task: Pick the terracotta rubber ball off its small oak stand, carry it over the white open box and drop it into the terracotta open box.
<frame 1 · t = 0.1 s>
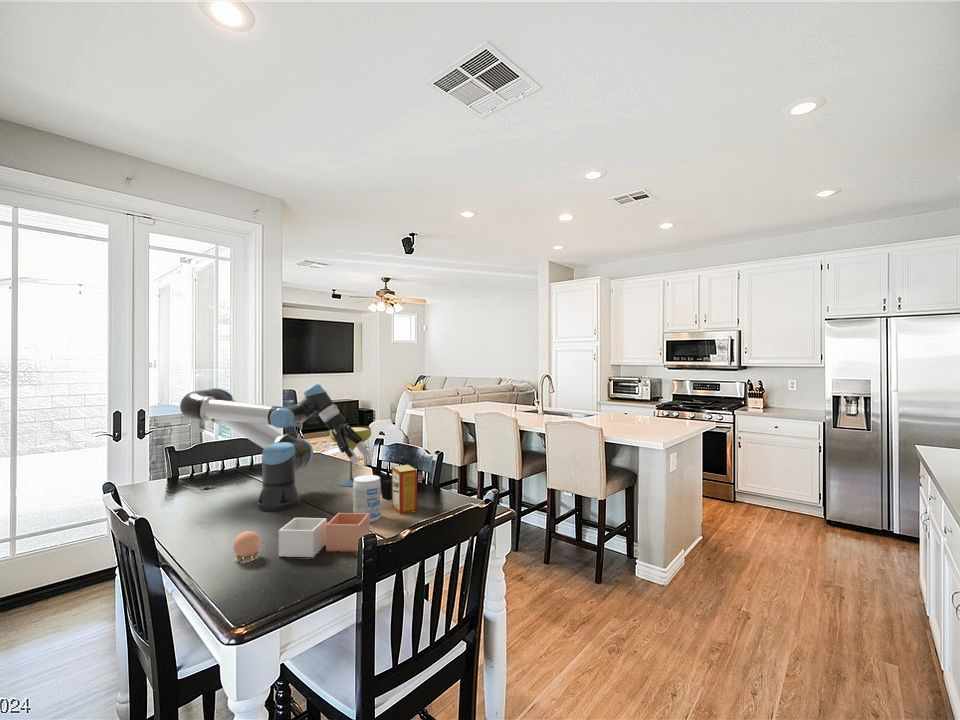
hand: (362, 459, 191), 15 cm above the table, tool tilted 35°, fingers open, 13 cm apart
ball stand: (247, 558, 133), on the table
white open box: (303, 550, 138), on the table
ball: (247, 544, 133), point 4 cm above the table, touching ball stand
supplement tub: (367, 519, 164), on the table
baking soda box: (404, 509, 175), on the table
cocktail glass: (351, 483, 209), on the table
terracotta open box: (348, 544, 142), on the table
digital camera: (395, 497, 190), on the table
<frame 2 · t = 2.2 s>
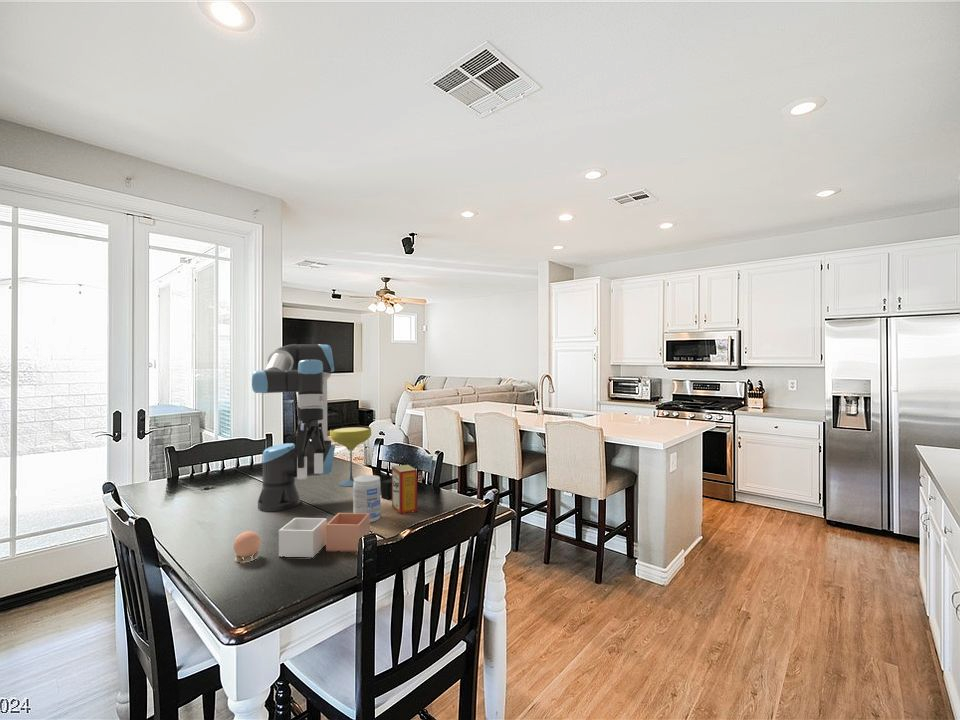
hand: (310, 476, 144), 21 cm above the table, tool pointing down, fingers open, 13 cm apart
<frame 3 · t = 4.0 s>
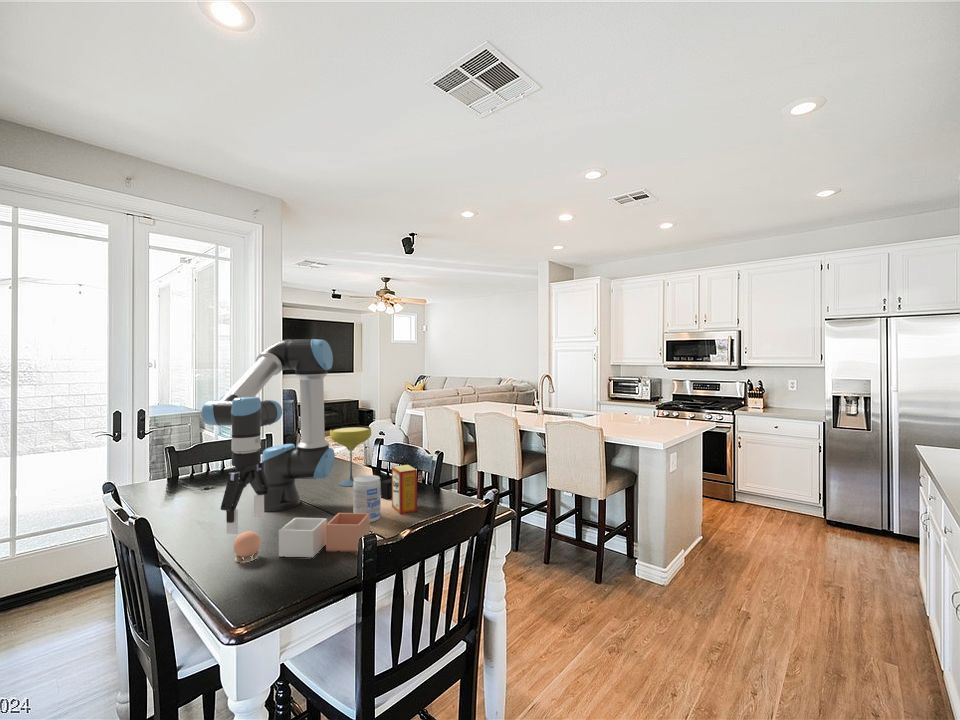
hand: (246, 524, 132), 10 cm above the table, tool pointing down, fingers open, 13 cm apart
nothing on the table moved.
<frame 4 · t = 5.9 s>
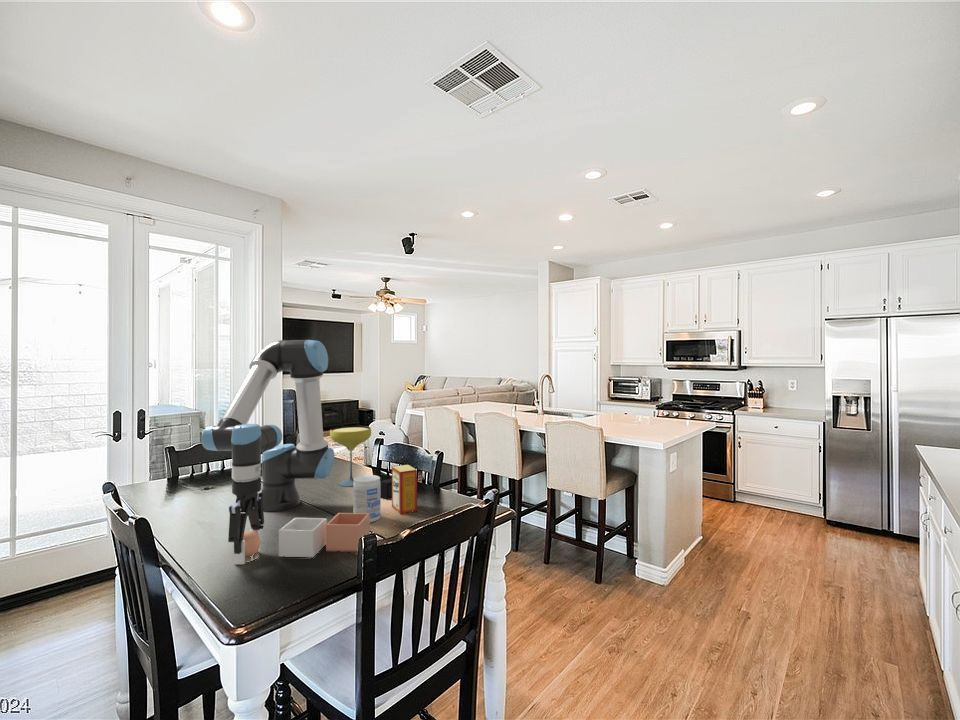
hand: (247, 557, 133), 0 cm above the table, tool pointing down, fingers closed on ball, 7 cm apart
ball: (247, 544, 133), point 4 cm above the table, touching ball stand, gripper
everything else where it was.
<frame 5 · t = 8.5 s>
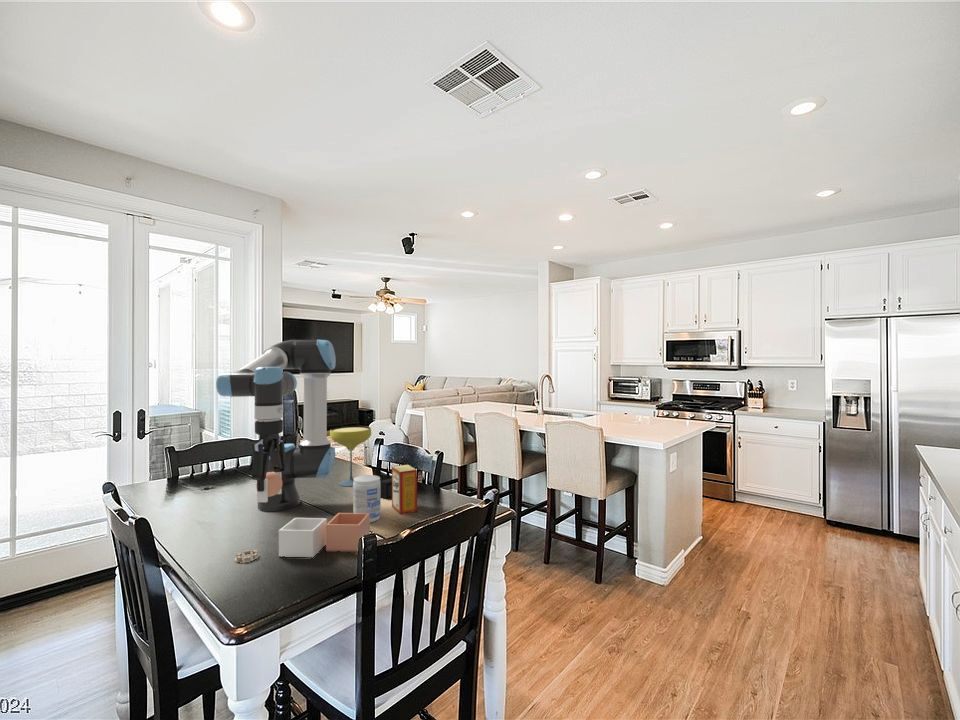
hand: (269, 497, 135), 17 cm above the table, tool pointing down, fingers closed on ball, 7 cm apart
ball: (269, 484, 135), point 21 cm above the table, touching gripper
when the fingers open (11 cm above the table, at t = 11.4 s): ball drops 11 cm, resting on terracotta open box.
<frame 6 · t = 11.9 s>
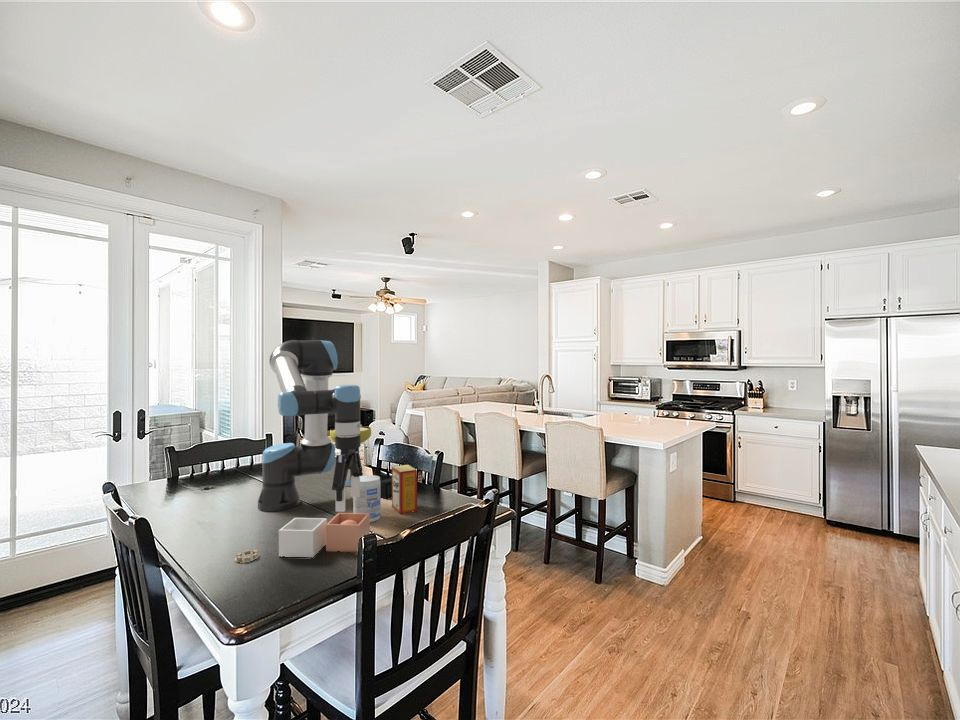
hand: (348, 503, 142), 13 cm above the table, tool pointing down, fingers open, 13 cm apart
ball: (348, 531, 142), point 4 cm above the table, touching terracotta open box
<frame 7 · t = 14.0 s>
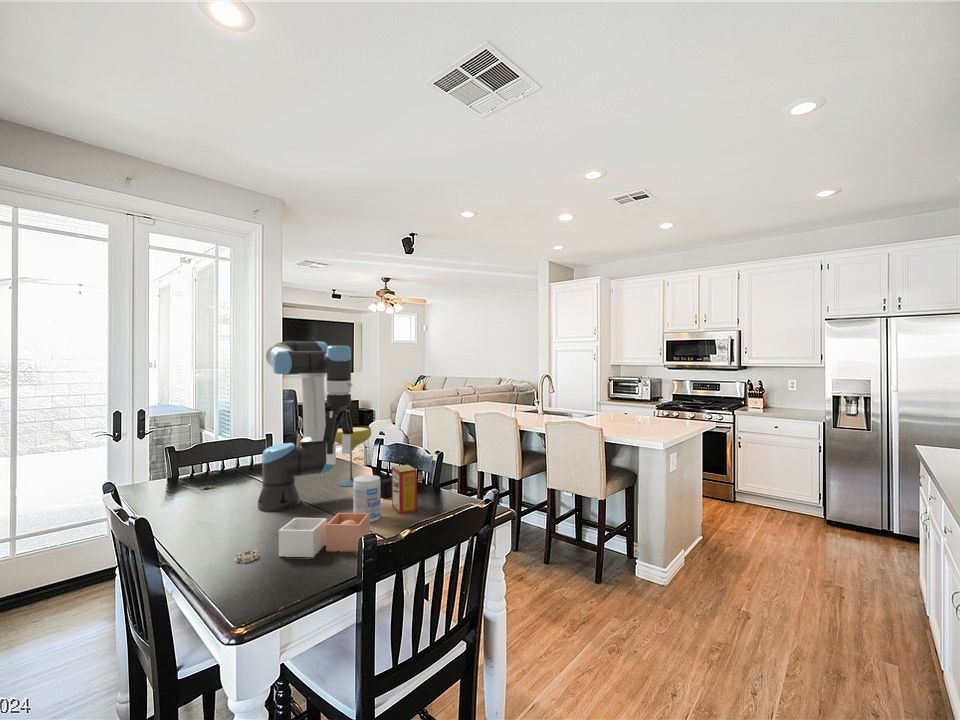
hand: (338, 458, 149), 25 cm above the table, tool pointing down, fingers open, 13 cm apart
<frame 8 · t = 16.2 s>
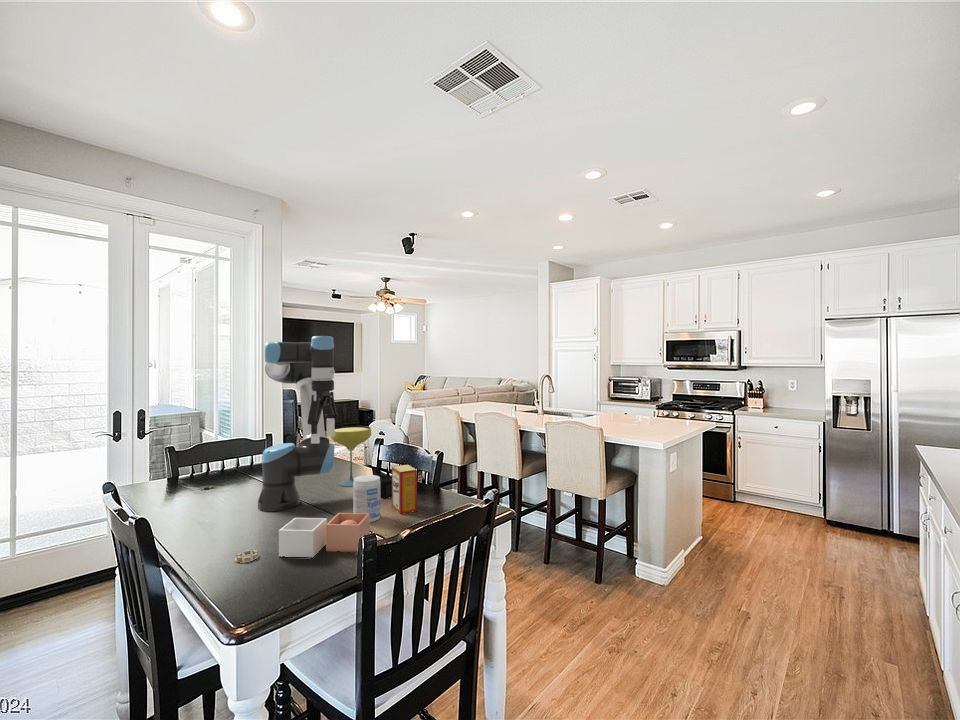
hand: (323, 439, 163), 29 cm above the table, tool pointing down, fingers open, 13 cm apart
at the end: ball 0.1 cm off-centre on the terracotta open box, point 4.0 cm above the terracotta open box's base; the gripper is holding nothing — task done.
